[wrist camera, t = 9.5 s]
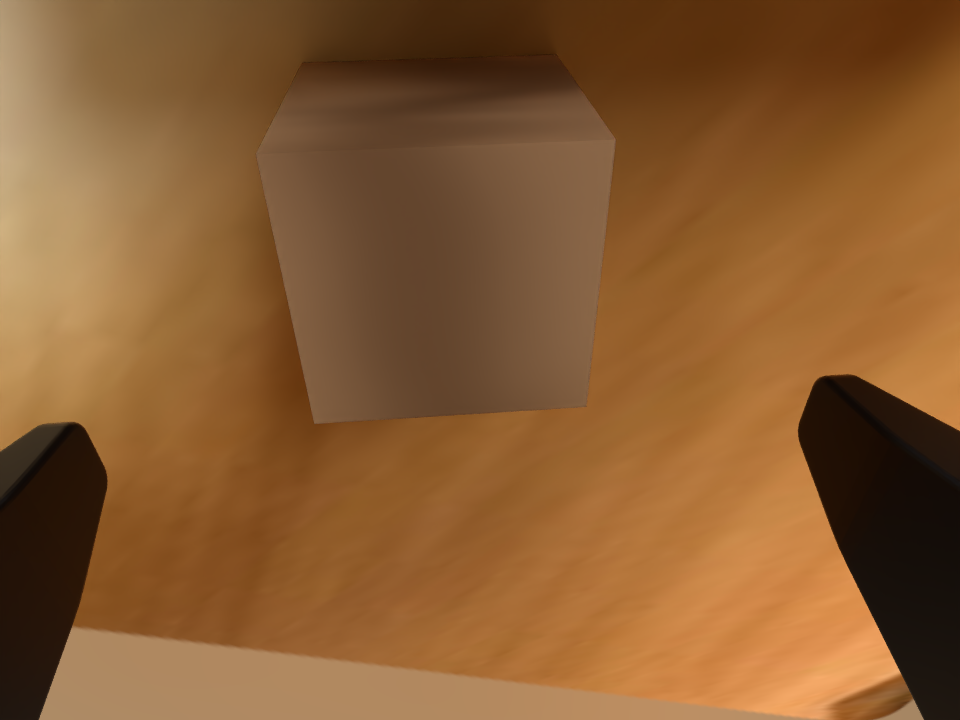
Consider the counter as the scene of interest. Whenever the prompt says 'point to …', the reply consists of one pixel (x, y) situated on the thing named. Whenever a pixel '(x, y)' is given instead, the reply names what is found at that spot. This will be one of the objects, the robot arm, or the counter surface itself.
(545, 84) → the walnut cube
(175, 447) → the counter surface
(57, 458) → the robot arm
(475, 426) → the counter surface
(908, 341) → the counter surface
